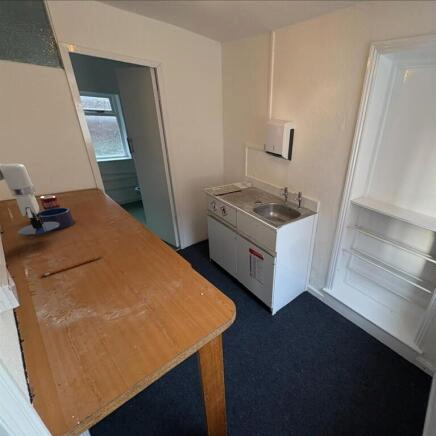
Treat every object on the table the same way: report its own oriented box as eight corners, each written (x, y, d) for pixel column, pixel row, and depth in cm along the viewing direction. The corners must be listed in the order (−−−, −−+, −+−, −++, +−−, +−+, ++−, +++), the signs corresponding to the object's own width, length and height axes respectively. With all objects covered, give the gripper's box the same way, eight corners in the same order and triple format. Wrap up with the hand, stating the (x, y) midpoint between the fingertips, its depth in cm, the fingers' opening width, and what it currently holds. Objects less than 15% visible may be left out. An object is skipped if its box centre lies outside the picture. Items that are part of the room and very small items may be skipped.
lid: (15, 239, 107) (9, 226, 104) (22, 228, 117) (16, 216, 114) (59, 231, 115) (54, 219, 112) (61, 221, 125) (56, 210, 123)
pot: (40, 232, 125) (33, 218, 122) (43, 224, 135) (37, 210, 132) (73, 226, 133) (68, 213, 130) (74, 218, 143) (69, 206, 140)
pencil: (43, 276, 94) (42, 274, 93) (100, 257, 107) (99, 256, 107) (43, 277, 93) (42, 275, 93) (100, 258, 106) (100, 256, 106)
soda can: (45, 214, 146) (37, 196, 141) (60, 211, 152) (53, 194, 147) (48, 217, 143) (41, 199, 138) (64, 214, 148) (57, 196, 143)
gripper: (15, 187, 111) (30, 222, 119) (6, 196, 100) (24, 234, 107) (37, 185, 116) (51, 219, 123) (31, 194, 104) (47, 230, 112)
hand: (38, 226), depth 115 cm, fingers closed on lid, 3 cm apart
